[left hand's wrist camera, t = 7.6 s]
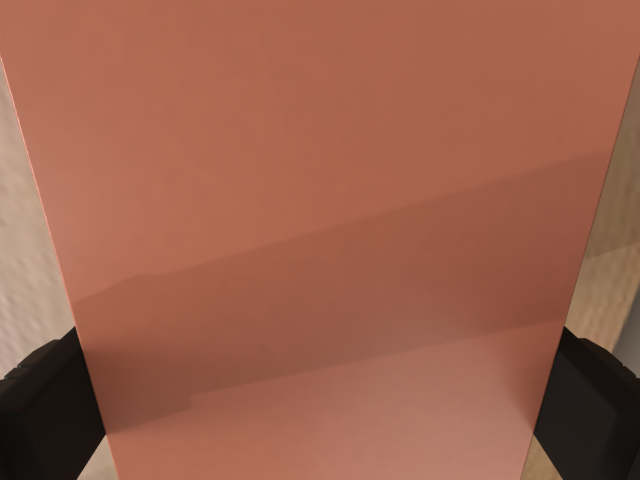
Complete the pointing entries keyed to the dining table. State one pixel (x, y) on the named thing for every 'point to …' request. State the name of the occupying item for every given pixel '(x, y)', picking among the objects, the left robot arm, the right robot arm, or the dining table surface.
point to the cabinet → (319, 220)
